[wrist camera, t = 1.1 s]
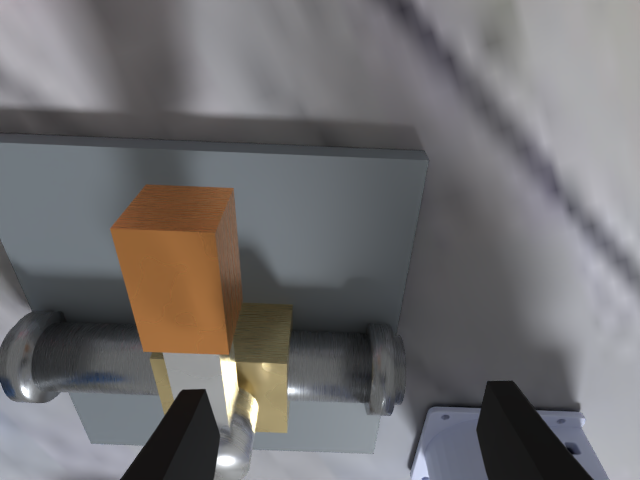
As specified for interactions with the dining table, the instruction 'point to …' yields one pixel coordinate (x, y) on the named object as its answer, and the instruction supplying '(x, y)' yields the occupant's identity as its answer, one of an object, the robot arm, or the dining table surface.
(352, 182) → the base board
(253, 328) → the valve pipe
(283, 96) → the dining table surface
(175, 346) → the valve lever
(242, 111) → the dining table surface
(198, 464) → the robot arm
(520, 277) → the dining table surface
